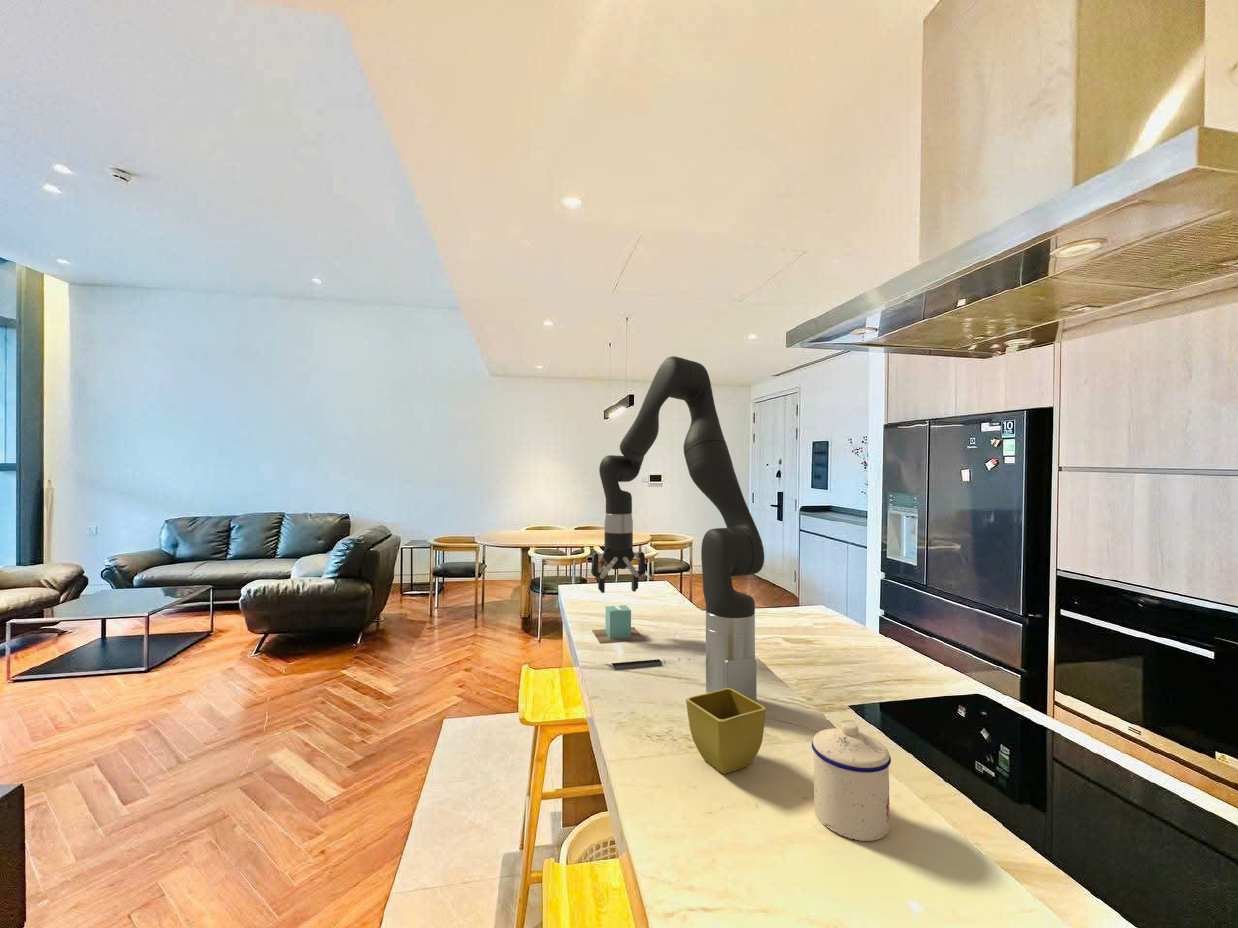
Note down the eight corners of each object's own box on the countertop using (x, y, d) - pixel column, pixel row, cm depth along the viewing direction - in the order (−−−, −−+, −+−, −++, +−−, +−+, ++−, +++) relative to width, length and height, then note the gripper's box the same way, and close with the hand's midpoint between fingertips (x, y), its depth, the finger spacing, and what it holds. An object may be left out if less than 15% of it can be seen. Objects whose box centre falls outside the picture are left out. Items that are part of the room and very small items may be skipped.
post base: (646, 646, 132) (646, 618, 132) (600, 649, 129) (600, 621, 129) (633, 632, 143) (634, 607, 144) (591, 635, 141) (591, 609, 141)
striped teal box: (631, 637, 134) (631, 609, 134) (610, 638, 133) (610, 610, 133) (625, 631, 140) (625, 604, 140) (605, 632, 138) (605, 605, 139)
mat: (662, 666, 118) (662, 662, 118) (615, 670, 115) (615, 666, 115) (648, 650, 128) (648, 647, 128) (605, 653, 126) (605, 650, 126)
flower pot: (720, 786, 71) (720, 720, 72) (684, 756, 79) (684, 697, 80) (768, 770, 76) (767, 707, 76) (729, 743, 83) (729, 686, 84)
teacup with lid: (908, 842, 61) (907, 741, 61) (834, 846, 60) (833, 744, 60) (853, 782, 72) (852, 698, 73) (791, 785, 72) (790, 700, 72)
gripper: (595, 532, 132) (594, 596, 131) (648, 531, 135) (648, 593, 135) (589, 529, 139) (589, 589, 139) (640, 528, 142) (640, 587, 142)
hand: (618, 591), depth 137 cm, fingers open, 8 cm apart
